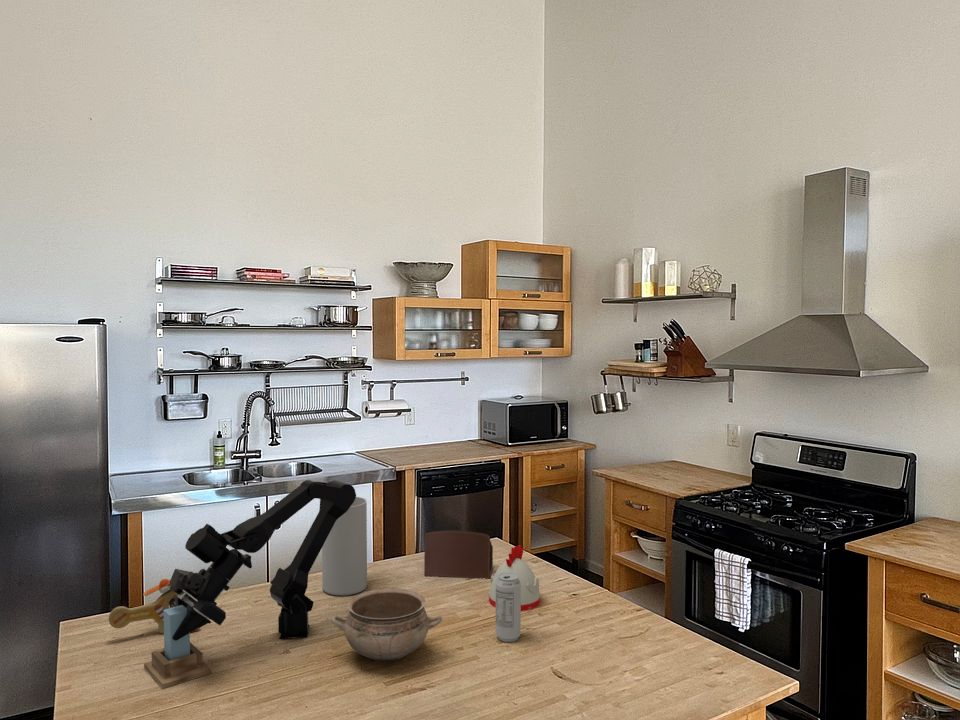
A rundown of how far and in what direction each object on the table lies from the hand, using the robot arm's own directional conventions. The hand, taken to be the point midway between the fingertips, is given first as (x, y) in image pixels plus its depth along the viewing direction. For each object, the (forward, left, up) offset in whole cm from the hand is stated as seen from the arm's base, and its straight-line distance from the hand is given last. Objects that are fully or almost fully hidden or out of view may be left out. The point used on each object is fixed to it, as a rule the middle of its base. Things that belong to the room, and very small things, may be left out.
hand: (170, 636), depth 154 cm
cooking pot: (-46, -1, -8) cm, 47 cm away
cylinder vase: (-35, -44, -8) cm, 57 cm away
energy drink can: (-75, -6, -8) cm, 76 cm away
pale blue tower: (-1, -1, -7) cm, 7 cm away
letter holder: (-69, -53, -8) cm, 88 cm away
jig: (-1, -1, -8) cm, 8 cm away
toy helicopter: (+8, -21, -8) cm, 24 cm away
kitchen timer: (-81, -28, -8) cm, 87 cm away
